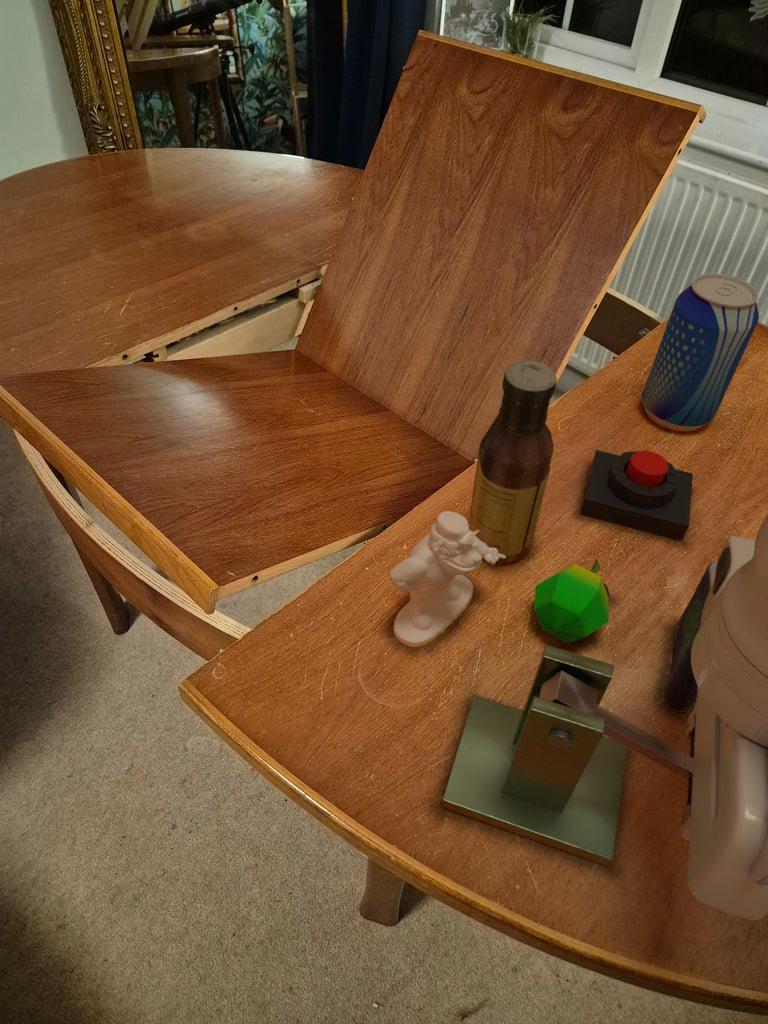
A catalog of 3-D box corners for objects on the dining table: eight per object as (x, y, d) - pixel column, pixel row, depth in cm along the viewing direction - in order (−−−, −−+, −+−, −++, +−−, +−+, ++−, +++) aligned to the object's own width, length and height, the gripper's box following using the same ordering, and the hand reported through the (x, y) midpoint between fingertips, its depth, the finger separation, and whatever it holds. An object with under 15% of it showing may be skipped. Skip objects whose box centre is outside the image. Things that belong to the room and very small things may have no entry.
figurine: (436, 667, 61) (451, 575, 53) (376, 624, 64) (381, 529, 56) (497, 602, 66) (521, 508, 58) (439, 564, 69) (453, 469, 61)
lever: (699, 748, 50) (724, 736, 49) (695, 825, 47) (722, 815, 45) (546, 664, 50) (565, 648, 48) (530, 735, 46) (550, 721, 44)
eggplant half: (673, 620, 66) (718, 539, 58) (707, 632, 65) (757, 551, 57) (658, 705, 60) (705, 628, 52) (695, 719, 59) (749, 642, 51)
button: (664, 468, 75) (669, 455, 73) (661, 491, 72) (667, 478, 71) (628, 459, 75) (632, 446, 74) (624, 482, 73) (629, 469, 72)
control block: (686, 488, 78) (699, 460, 75) (681, 541, 73) (695, 512, 70) (591, 464, 80) (600, 436, 77) (579, 514, 75) (589, 485, 72)
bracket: (623, 751, 57) (677, 657, 48) (608, 867, 51) (667, 785, 42) (471, 702, 59) (495, 604, 50) (440, 807, 53) (461, 717, 44)
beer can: (724, 433, 85) (784, 308, 73) (656, 438, 84) (706, 312, 72) (691, 389, 91) (742, 267, 79) (627, 394, 89) (669, 270, 78)
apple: (570, 598, 58) (611, 527, 63) (506, 602, 62) (549, 536, 68) (609, 664, 60) (646, 591, 65) (545, 664, 65) (584, 595, 70)
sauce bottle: (502, 511, 74) (540, 340, 60) (543, 551, 71) (594, 379, 57) (450, 536, 72) (477, 363, 58) (490, 578, 68) (530, 406, 54)
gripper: (877, 885, 31) (746, 971, 41) (836, 544, 45) (746, 670, 54) (720, 832, 32) (630, 928, 42) (727, 516, 46) (659, 644, 56)
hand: (696, 780), depth 48 cm, fingers closed on lever, 5 cm apart
